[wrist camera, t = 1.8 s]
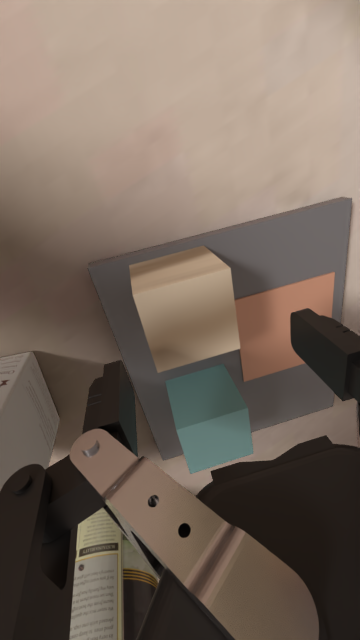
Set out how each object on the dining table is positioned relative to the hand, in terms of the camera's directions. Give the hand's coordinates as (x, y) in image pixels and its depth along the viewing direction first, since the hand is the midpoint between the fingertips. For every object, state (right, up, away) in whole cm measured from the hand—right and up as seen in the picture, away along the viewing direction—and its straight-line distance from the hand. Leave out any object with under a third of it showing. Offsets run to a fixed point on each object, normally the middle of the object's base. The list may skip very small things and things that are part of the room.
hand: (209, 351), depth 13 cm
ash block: (-2, +4, +6) cm, 8 cm away
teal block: (0, -5, +11) cm, 12 cm away
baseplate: (+3, -1, +11) cm, 11 cm away
